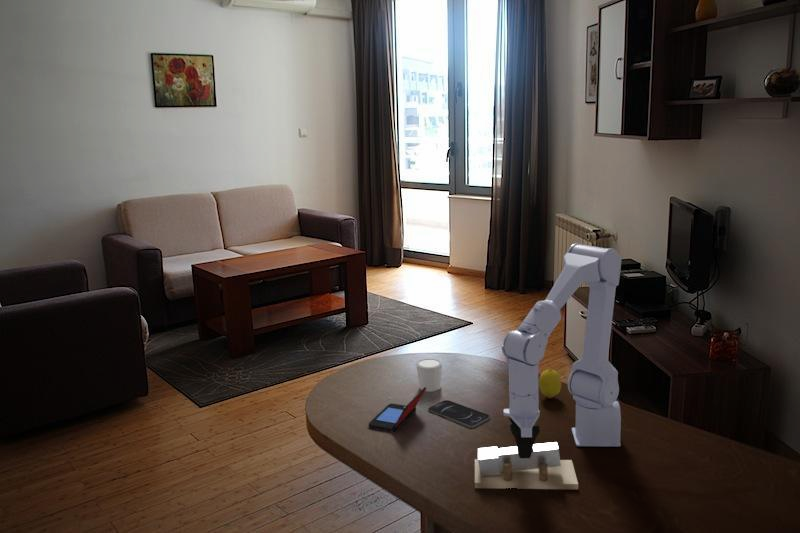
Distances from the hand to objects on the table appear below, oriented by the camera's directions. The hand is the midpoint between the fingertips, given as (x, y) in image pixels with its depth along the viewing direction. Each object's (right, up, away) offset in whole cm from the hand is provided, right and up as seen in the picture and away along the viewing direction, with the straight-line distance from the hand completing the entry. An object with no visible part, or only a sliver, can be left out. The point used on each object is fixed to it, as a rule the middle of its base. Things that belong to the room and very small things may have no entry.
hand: (524, 453), depth 136 cm
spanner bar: (-1, -3, +1) cm, 3 cm away
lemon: (+13, +4, +36) cm, 38 cm away
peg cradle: (0, -5, +1) cm, 5 cm away
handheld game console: (-25, 0, +29) cm, 38 cm away
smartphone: (-11, +1, +30) cm, 32 cm away
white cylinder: (-17, +5, +46) cm, 50 cm away
